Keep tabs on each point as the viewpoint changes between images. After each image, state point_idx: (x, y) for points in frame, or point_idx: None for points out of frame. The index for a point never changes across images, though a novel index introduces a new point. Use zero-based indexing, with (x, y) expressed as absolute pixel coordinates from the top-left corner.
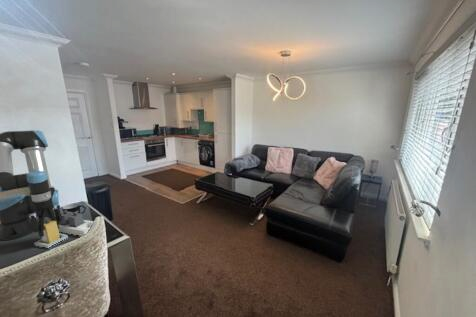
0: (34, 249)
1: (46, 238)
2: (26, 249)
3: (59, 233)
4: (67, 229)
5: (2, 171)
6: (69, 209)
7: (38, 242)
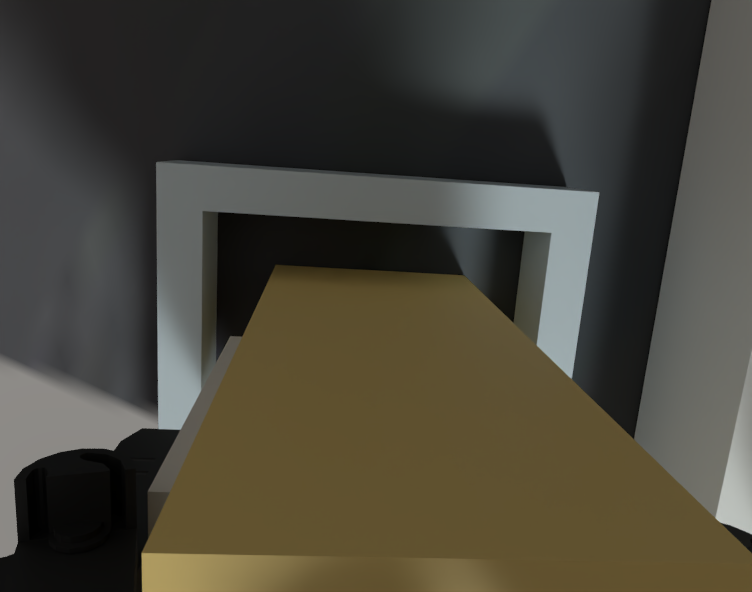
0: (92, 284)
1: None
2: (39, 115)
3: (568, 353)
4: (701, 451)
5: None
6: None
7: (187, 257)
